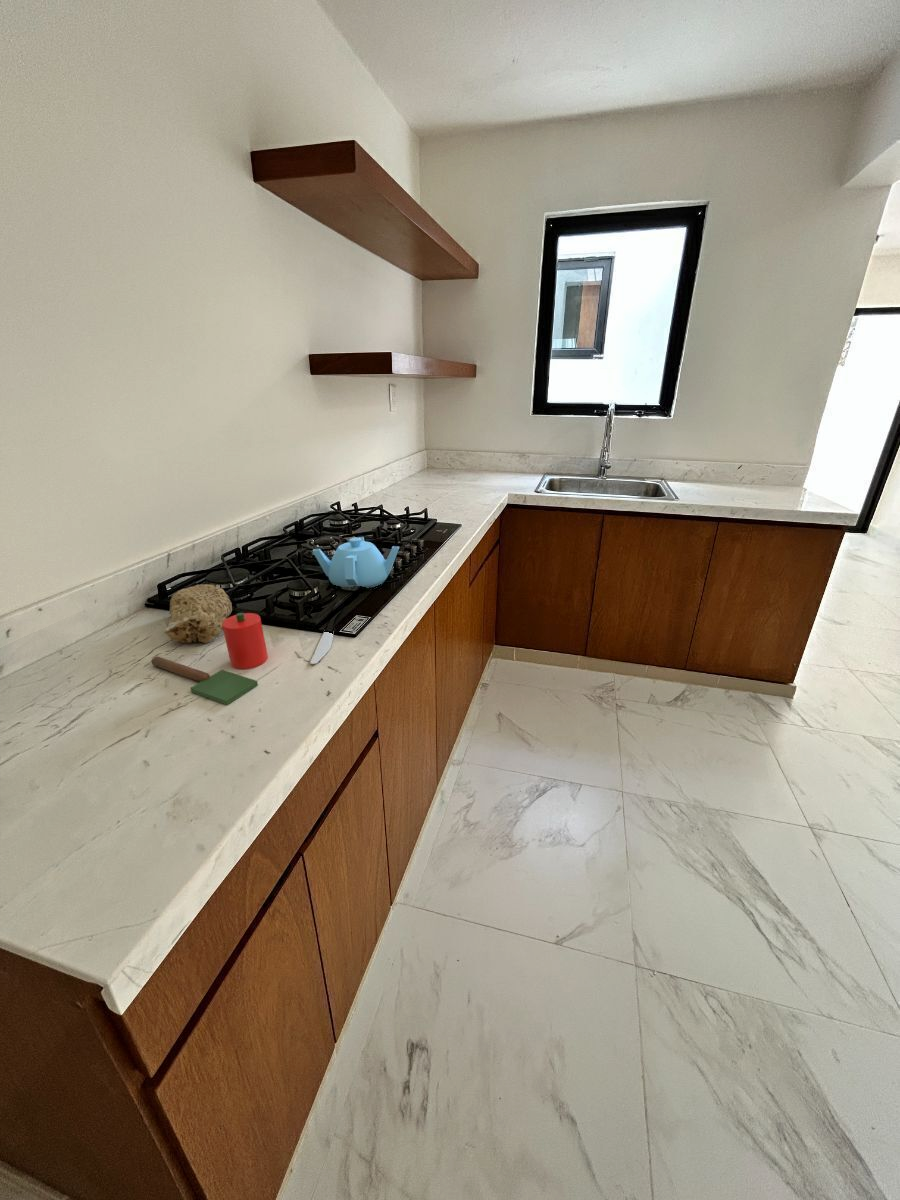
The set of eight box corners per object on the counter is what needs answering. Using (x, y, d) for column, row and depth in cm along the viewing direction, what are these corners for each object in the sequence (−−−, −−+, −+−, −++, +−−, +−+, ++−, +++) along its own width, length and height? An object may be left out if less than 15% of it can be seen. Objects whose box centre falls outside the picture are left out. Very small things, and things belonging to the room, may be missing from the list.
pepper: (223, 664, 85) (212, 617, 81) (250, 648, 90) (241, 604, 86) (248, 672, 82) (238, 624, 79) (275, 656, 87) (266, 610, 83)
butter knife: (350, 598, 108) (336, 597, 108) (323, 663, 83) (305, 663, 83) (350, 600, 108) (336, 600, 108) (323, 666, 84) (305, 666, 84)
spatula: (138, 672, 83) (135, 664, 82) (171, 656, 88) (168, 648, 87) (226, 705, 74) (224, 696, 73) (258, 685, 79) (256, 676, 78)
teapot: (313, 583, 119) (307, 539, 114) (364, 567, 128) (360, 526, 124) (351, 600, 109) (346, 553, 104) (403, 581, 119) (400, 537, 114)
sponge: (229, 648, 92) (246, 588, 109) (210, 616, 88) (231, 558, 104) (159, 665, 92) (187, 603, 108) (136, 633, 87) (168, 573, 103)
